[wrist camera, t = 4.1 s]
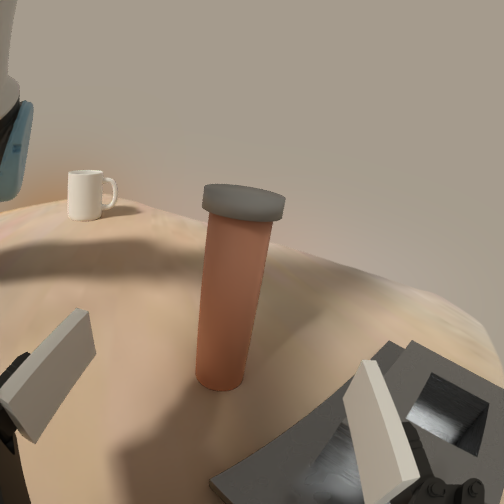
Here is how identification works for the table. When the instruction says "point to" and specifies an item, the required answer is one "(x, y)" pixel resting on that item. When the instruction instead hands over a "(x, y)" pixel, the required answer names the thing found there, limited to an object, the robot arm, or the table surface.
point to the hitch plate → (409, 409)
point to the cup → (88, 194)
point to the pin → (232, 278)
